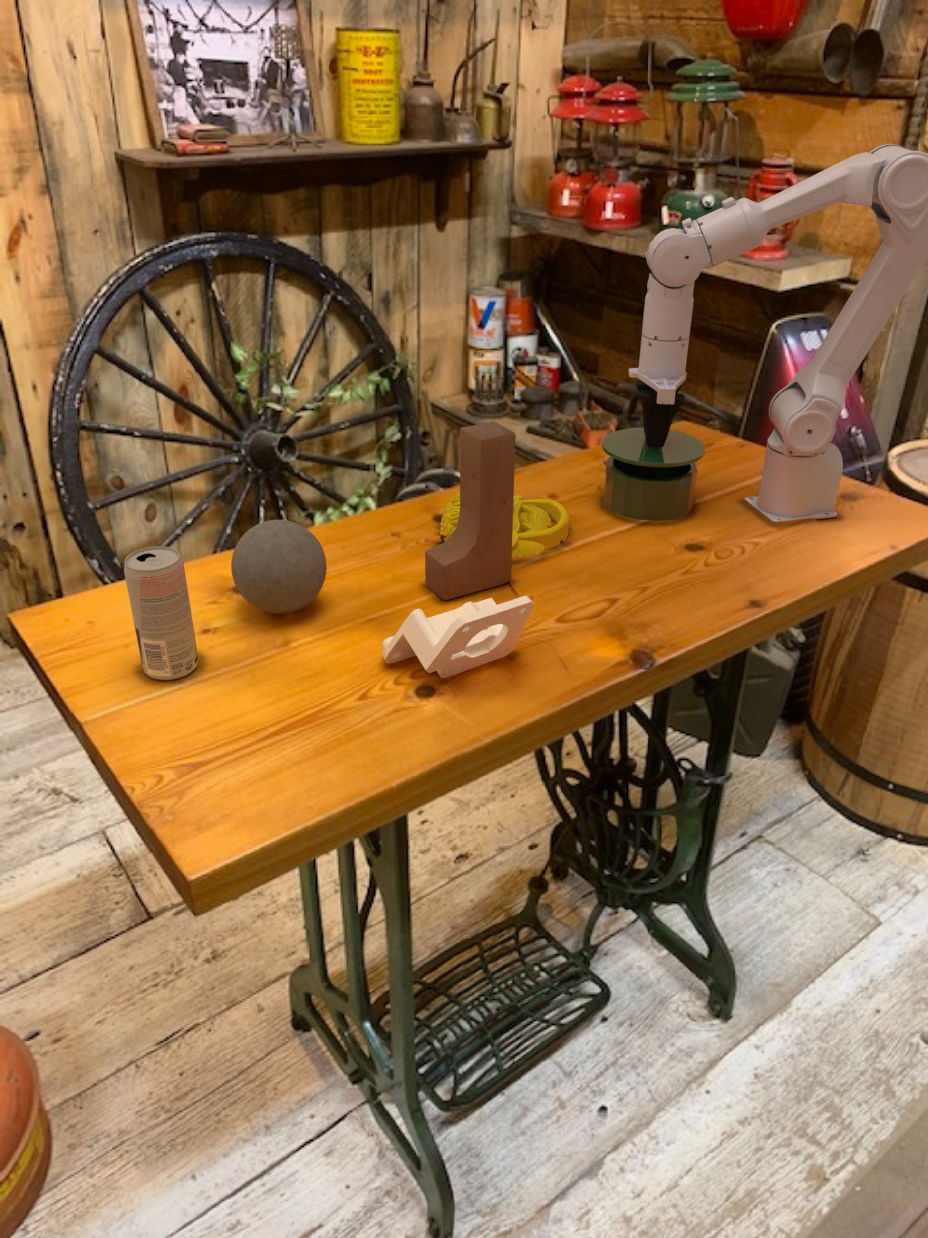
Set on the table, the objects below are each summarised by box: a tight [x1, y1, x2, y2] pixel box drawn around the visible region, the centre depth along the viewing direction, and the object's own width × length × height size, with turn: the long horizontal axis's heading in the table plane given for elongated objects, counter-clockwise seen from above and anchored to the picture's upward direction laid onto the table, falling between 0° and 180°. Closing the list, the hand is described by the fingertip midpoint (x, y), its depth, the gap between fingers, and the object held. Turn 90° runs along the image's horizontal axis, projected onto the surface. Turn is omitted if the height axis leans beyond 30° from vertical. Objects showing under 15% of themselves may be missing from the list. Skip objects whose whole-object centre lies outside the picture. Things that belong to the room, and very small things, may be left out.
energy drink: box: [123, 545, 200, 681], centre depth 94 cm, size 5×5×12 cm
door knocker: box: [439, 492, 570, 559], centre depth 123 cm, size 17×16×4 cm
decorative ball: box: [230, 519, 327, 615], centre depth 105 cm, size 10×10×10 cm
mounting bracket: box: [381, 595, 535, 679], centre depth 95 cm, size 12×6×11 cm, turn 123°
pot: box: [603, 456, 698, 522], centre depth 130 cm, size 12×12×6 cm
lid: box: [601, 427, 706, 467], centre depth 127 cm, size 13×13×4 cm
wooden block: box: [424, 421, 517, 601], centre depth 108 cm, size 9×4×18 cm, turn 120°
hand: (654, 441), depth 127 cm, fingers closed on lid, 2 cm apart
